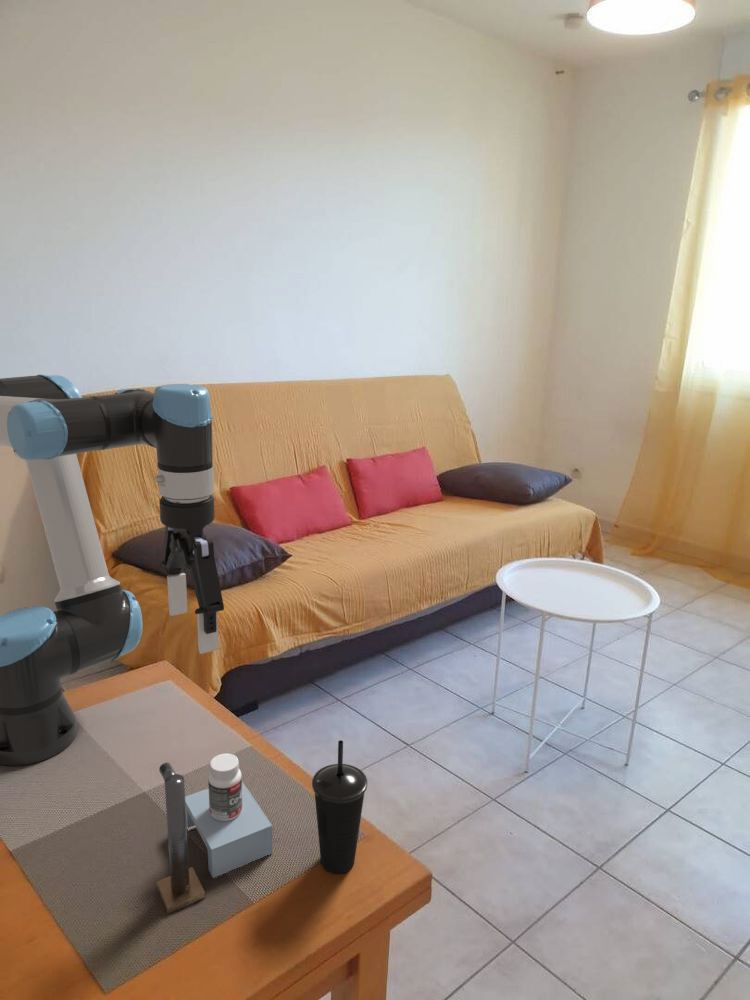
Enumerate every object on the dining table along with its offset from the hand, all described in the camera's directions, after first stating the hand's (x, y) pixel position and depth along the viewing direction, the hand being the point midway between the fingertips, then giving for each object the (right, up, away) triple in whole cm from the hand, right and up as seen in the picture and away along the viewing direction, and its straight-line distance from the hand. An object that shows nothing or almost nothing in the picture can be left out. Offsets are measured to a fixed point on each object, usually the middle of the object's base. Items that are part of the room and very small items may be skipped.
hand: (192, 631), depth 108 cm
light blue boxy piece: (+6, -31, -1) cm, 31 cm away
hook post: (+1, -33, -11) cm, 35 cm away
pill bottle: (+6, -26, -3) cm, 27 cm away
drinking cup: (+22, -32, -5) cm, 39 cm away
